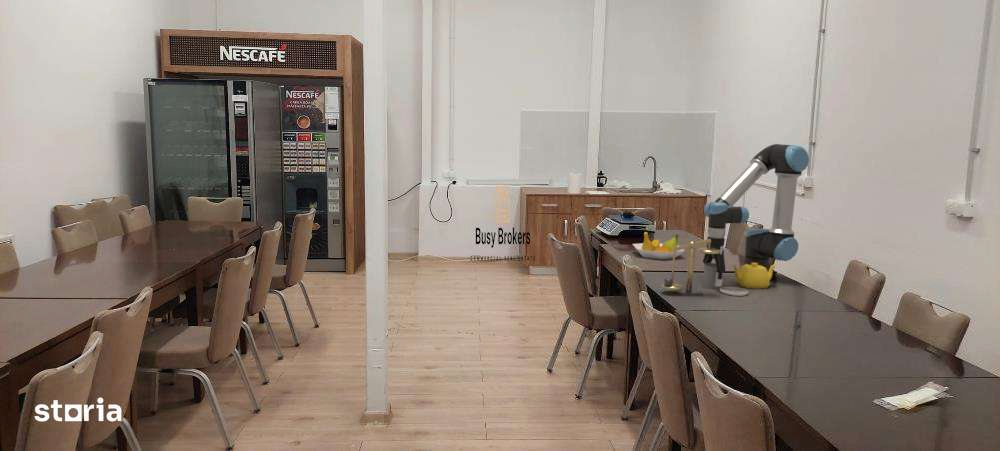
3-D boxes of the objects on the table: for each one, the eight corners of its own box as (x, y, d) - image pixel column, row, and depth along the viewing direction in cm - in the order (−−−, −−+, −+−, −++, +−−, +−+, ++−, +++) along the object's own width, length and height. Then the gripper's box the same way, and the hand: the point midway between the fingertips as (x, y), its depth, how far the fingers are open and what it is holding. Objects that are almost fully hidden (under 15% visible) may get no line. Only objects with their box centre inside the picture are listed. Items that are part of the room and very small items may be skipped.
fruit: (687, 262, 377) (689, 235, 375) (638, 260, 377) (640, 234, 375) (674, 251, 407) (676, 226, 404) (629, 250, 407) (630, 225, 405)
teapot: (765, 281, 337) (767, 259, 335) (782, 289, 322) (784, 266, 320) (721, 281, 335) (723, 258, 333) (735, 289, 320) (737, 265, 318)
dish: (740, 289, 319) (741, 287, 318) (752, 296, 307) (753, 293, 307) (715, 289, 317) (715, 286, 317) (726, 296, 306) (726, 293, 305)
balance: (711, 290, 315) (715, 237, 311) (719, 296, 306) (723, 240, 302) (658, 290, 312) (661, 236, 308) (664, 295, 303) (668, 240, 300)
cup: (722, 289, 318) (724, 267, 317) (703, 287, 320) (705, 266, 319) (720, 285, 327) (722, 263, 325) (702, 283, 328) (703, 262, 327)
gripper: (697, 232, 332) (694, 276, 335) (719, 241, 307) (715, 289, 310) (713, 232, 332) (709, 276, 336) (735, 241, 308) (731, 289, 311)
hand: (712, 282), depth 323 cm, fingers open, 13 cm apart
